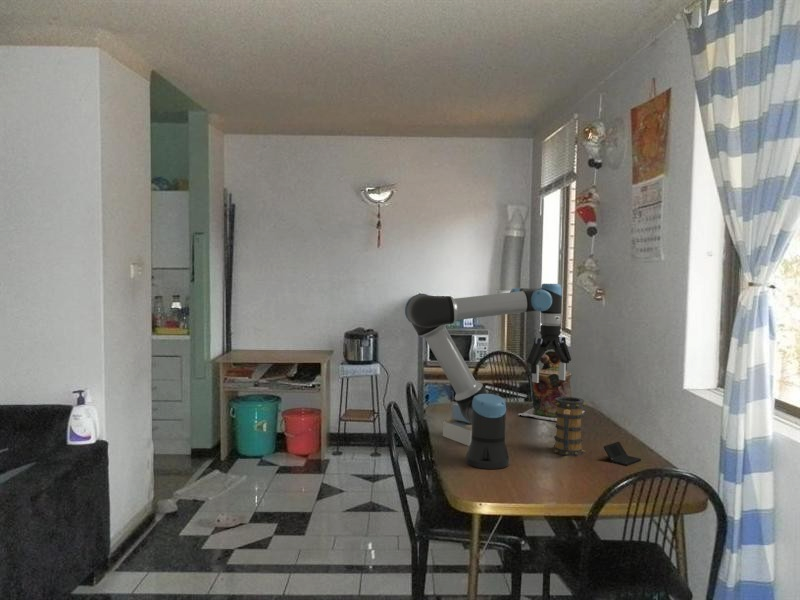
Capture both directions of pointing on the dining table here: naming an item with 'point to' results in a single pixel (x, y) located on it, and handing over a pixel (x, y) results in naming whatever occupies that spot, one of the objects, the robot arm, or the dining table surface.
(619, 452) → the handheld gaming console
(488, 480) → the dining table surface
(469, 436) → the stand
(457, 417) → the blue-gray rectangular block
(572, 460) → the dining table surface
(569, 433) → the mug
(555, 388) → the cookie jar
